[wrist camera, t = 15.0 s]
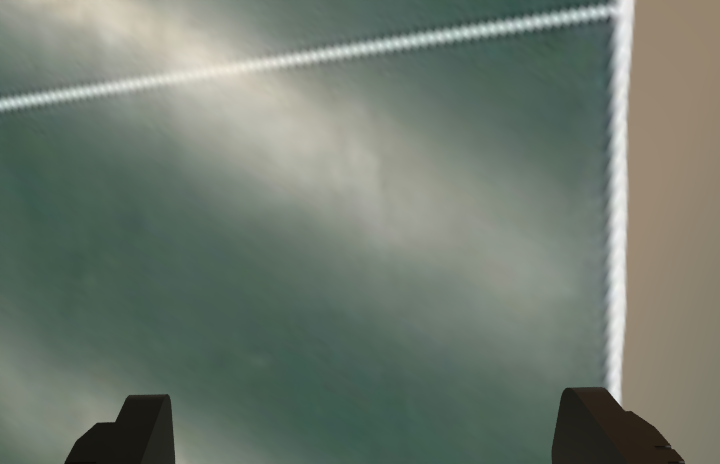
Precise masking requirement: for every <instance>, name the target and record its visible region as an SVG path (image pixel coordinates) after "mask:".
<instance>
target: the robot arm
mask: <svg viewBox="0 0 720 464" xmlns="http://www.w3.org/2000/svg"><path fill="white" fill-rule="evenodd" d="M65 464H175V450H174V436H173V423H172V409H171V400H170V396H169V395H168V394H162V395H129V396H128V397H127V398H126V400H125V402H124V404H123V406H122V409H121V411H120V413H119V415H118V417H117V419H116V421H115V422H105V423H96V424H95V425H94V426H93V427H92V428H91V429H90V430H88V431H87V432H86V433H85V434H84V435H83V436H81V437H80V438H79V439H78V440H77V441H76V442H75V444H74V446H73V448H72V450H71V451H70V453H69V455H68V457H67V459H66V461H65ZM552 464H685V462H684V460H683V459H682V458H681V456H680V455H679V454H678V453H677V452H676V451H675V450H674V449H671V445H670V444H669V443H668V442H667V440H666V439H665V438H664V437H663V436H662V435H661V434H660V432H659V431H658V430H657V429H656V428H655V427H654V426H652V425H651V424H649V423H648V422H647V421H645V420H643V419H642V418H641V417H639V416H638V415H636V414H634V413H633V412H632V411H624V410H623V409H622V407H621V406H620V405H619V404H618V402H617V401H616V400H615V399H614V398H613V396H612V395H611V394H610V393H609V392H608V391H607V390H606V389H605V388H603V387H580V388H566V389H565V390H564V391H563V393H562V396H561V401H560V406H559V412H558V417H557V423H556V428H555V434H554V439H553V445H552Z"/></svg>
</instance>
